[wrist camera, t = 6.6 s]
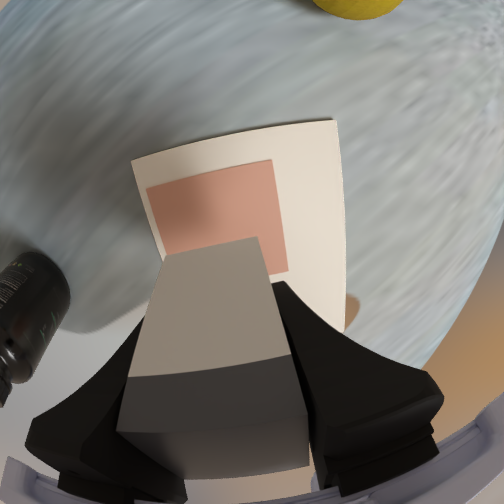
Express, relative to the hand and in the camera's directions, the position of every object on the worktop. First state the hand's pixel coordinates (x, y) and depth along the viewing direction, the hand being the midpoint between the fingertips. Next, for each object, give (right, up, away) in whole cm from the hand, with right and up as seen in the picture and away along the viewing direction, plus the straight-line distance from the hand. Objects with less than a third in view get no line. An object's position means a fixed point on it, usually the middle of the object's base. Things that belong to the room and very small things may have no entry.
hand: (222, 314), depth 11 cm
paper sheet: (+2, +2, +9) cm, 9 cm away
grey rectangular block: (0, +1, +2) cm, 2 cm away
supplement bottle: (-17, 0, +8) cm, 19 cm away
